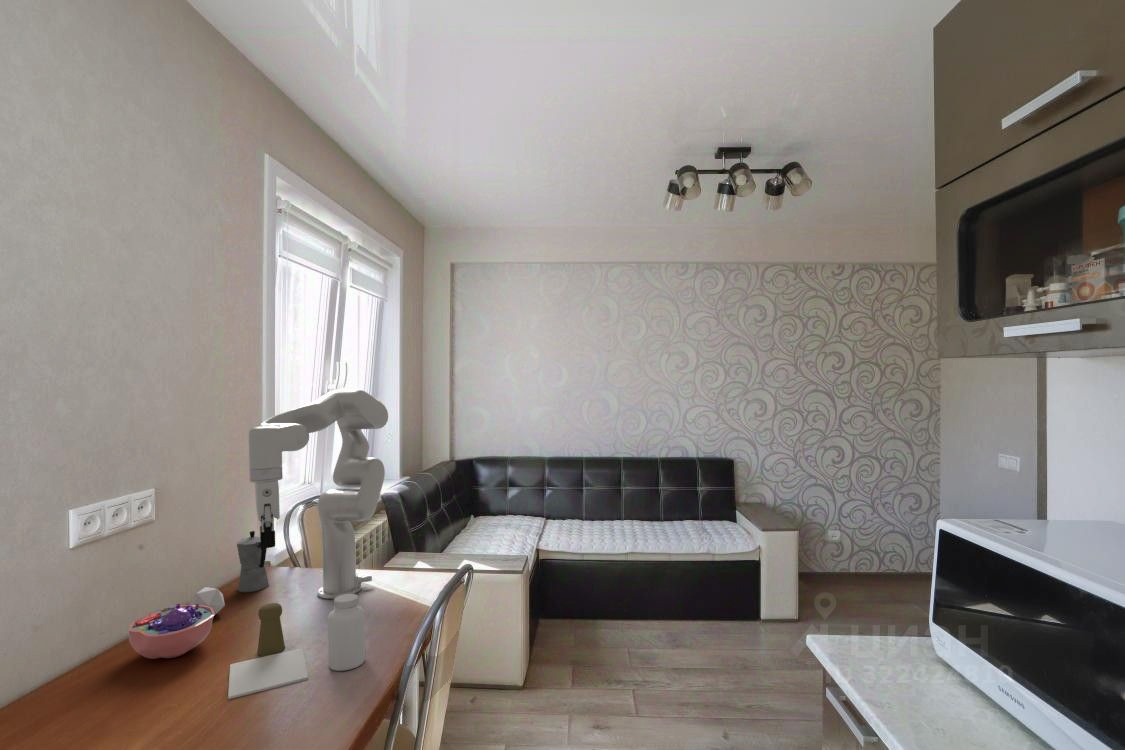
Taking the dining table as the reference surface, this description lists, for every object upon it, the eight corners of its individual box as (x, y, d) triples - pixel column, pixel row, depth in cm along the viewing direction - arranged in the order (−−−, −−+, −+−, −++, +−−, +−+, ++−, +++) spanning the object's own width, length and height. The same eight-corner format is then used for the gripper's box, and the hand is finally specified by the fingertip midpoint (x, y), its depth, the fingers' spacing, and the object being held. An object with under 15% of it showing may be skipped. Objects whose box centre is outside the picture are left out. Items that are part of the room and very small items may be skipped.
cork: (263, 645, 142) (262, 600, 142) (289, 643, 142) (287, 599, 142) (252, 657, 136) (251, 610, 136) (279, 655, 136) (277, 608, 136)
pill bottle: (372, 657, 134) (371, 593, 134) (349, 674, 126) (347, 606, 126) (345, 653, 136) (343, 589, 137) (320, 669, 129) (318, 602, 129)
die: (232, 616, 162) (228, 583, 167) (213, 611, 155) (210, 577, 160) (203, 628, 162) (201, 595, 166) (183, 624, 154) (181, 590, 159)
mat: (301, 650, 139) (301, 648, 139) (307, 679, 125) (307, 676, 125) (230, 666, 131) (230, 664, 131) (228, 699, 117) (228, 696, 117)
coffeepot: (229, 587, 184) (227, 531, 184) (259, 579, 192) (258, 525, 192) (250, 597, 175) (248, 538, 175) (281, 588, 182) (279, 531, 182)
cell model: (202, 629, 152) (201, 586, 153) (223, 653, 138) (222, 606, 138) (122, 651, 141) (122, 605, 141) (136, 680, 126) (135, 629, 126)
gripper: (284, 477, 141) (285, 549, 141) (280, 469, 157) (282, 534, 157) (249, 480, 138) (251, 555, 138) (249, 471, 153) (251, 538, 153)
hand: (267, 543), depth 147 cm, fingers open, 6 cm apart
